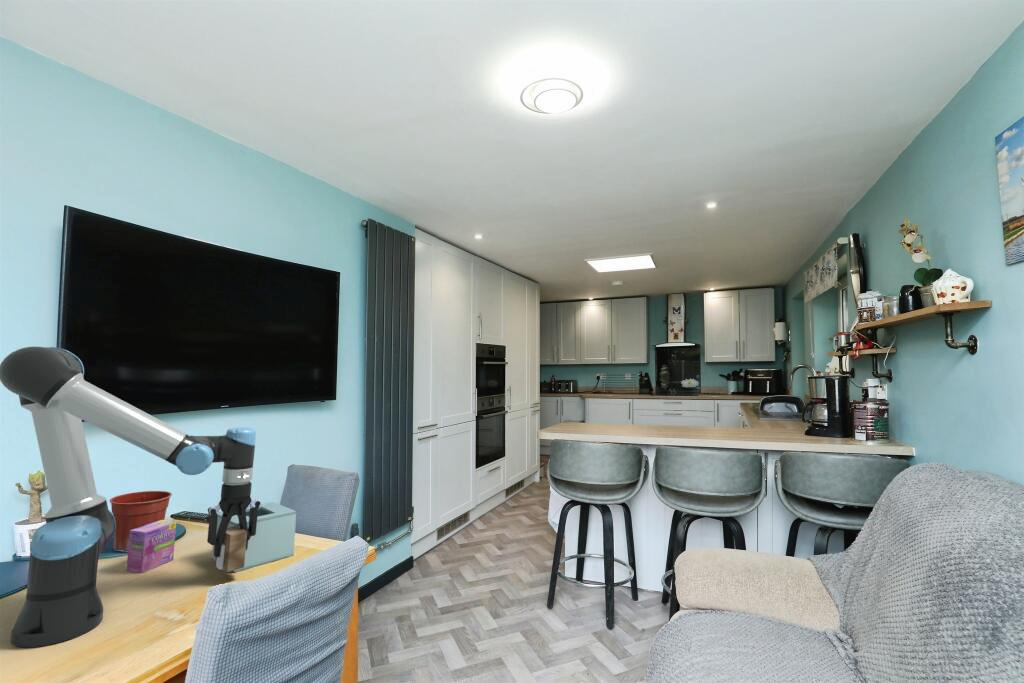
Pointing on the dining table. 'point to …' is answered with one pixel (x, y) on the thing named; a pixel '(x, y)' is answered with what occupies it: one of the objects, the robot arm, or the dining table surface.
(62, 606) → the robot arm
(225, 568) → the token
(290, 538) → the posting box
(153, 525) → the box
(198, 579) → the dining table surface
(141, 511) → the flower pot
